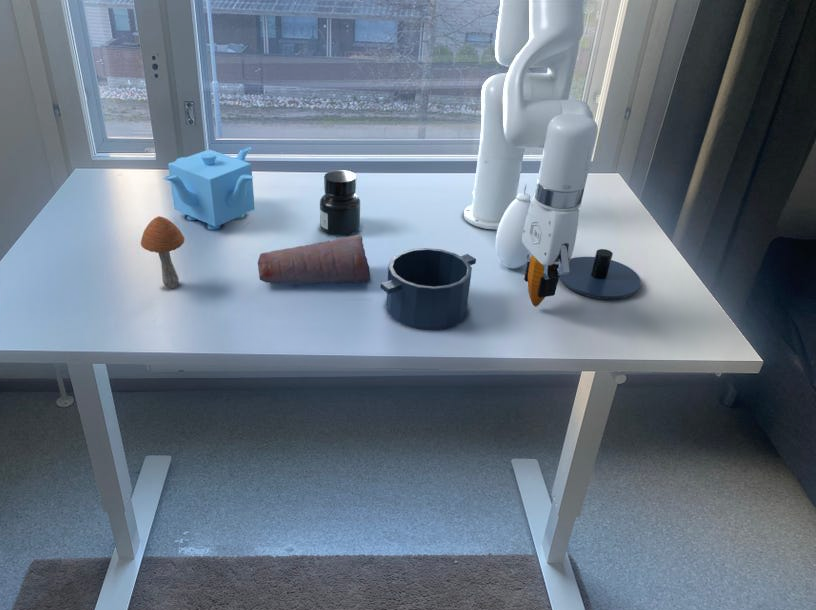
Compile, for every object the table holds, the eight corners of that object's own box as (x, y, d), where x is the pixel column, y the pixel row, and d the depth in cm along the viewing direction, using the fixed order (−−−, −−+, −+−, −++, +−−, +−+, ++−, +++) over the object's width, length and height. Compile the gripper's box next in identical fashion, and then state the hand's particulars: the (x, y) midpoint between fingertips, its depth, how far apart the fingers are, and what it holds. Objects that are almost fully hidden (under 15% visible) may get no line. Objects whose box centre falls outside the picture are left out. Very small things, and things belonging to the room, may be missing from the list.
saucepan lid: (539, 274, 140) (545, 247, 136) (592, 254, 147) (599, 227, 143) (602, 310, 129) (610, 281, 126) (656, 286, 136) (665, 258, 133)
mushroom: (155, 302, 132) (142, 229, 123) (144, 282, 137) (131, 211, 128) (196, 291, 134) (186, 219, 126) (183, 273, 140) (173, 203, 131)
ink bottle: (327, 216, 162) (326, 165, 154) (364, 220, 160) (365, 169, 152) (314, 234, 154) (313, 182, 147) (353, 239, 152) (354, 187, 145)
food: (362, 266, 143) (363, 226, 137) (371, 290, 135) (373, 248, 130) (257, 274, 140) (254, 233, 135) (261, 298, 132) (258, 256, 127)
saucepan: (359, 305, 131) (360, 265, 126) (442, 276, 139) (446, 237, 134) (407, 343, 121) (410, 301, 116) (493, 309, 130) (500, 269, 125)
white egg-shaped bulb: (535, 262, 144) (551, 178, 133) (525, 279, 138) (541, 193, 128) (498, 254, 147) (511, 171, 136) (486, 270, 141) (499, 185, 131)
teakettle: (179, 201, 168) (170, 140, 159) (257, 199, 169) (253, 138, 160) (171, 237, 153) (160, 172, 144) (257, 234, 154) (252, 169, 145)
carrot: (549, 315, 127) (566, 241, 117) (521, 312, 127) (535, 238, 118) (548, 300, 130) (564, 227, 121) (521, 297, 131) (535, 224, 122)
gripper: (516, 175, 121) (500, 267, 132) (562, 218, 108) (540, 316, 119) (555, 171, 122) (537, 262, 134) (606, 213, 109) (581, 311, 121)
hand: (539, 287), depth 126 cm, fingers closed on carrot, 4 cm apart
